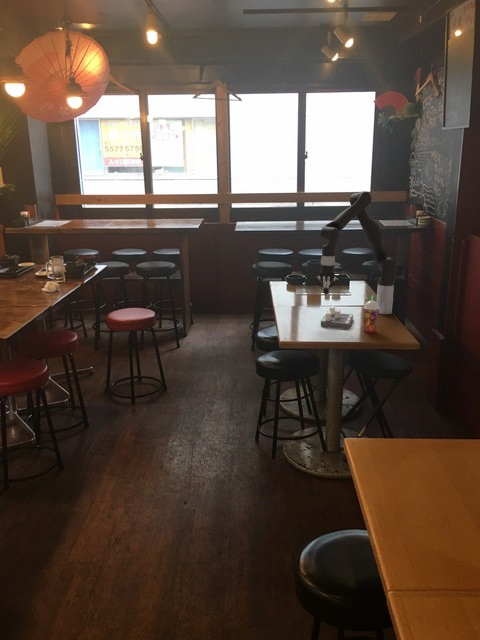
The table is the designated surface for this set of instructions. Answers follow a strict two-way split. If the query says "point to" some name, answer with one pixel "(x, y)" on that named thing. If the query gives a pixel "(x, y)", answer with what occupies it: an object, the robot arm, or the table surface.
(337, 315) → the block
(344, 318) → the breaker panel
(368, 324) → the smoothie
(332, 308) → the block
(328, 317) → the breaker near
